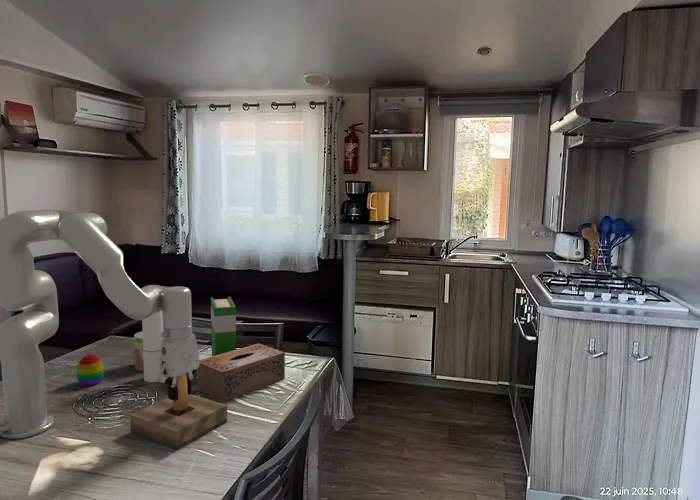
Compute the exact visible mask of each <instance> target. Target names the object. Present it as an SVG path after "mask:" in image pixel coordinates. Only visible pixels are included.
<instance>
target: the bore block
mask: <svg viewBox="0 0 700 500" xmlns="http://www.w3.org/2000/svg"><path fill="white" fill-rule="evenodd" d="M129 421H130V424H129V425H130V433H132V434H134V435H137V436H140V437H141V438H144V439H148V440H149V441H153V442H155V443H158V444H159V445H162V446H165V447H168V448H170V449H173V450H175V451H179V449H182V448H183V447H185V446H187V445H188V444H191V443H193V442H195V441H196V440H198V439H199V438H201V437H203V436H205V435H206V434H209V433H210V432H212V431H214V430H215V429H217V428H218V427H221V426H223V425H224V424H226V423H228V404H224V403H223V402H218V401H215V400H211V399H208V398H205V397H201V396H199V395H195V394H192V393H191V394H190V395H188V407H187V408H186V409H184V410H174V409H173V401H172V400H170V399H169V398H168V397H167V398H165V399H163V400H160V401H158V402H156V403H153V404H150V405H148V406H147V407H143V408H142V409H140V410H138V411H136V412H133V413H131V414H129Z"/></svg>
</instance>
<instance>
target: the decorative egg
mask: <svg viewBox="0 0 700 500" xmlns="http://www.w3.org/2000/svg"><path fill="white" fill-rule="evenodd" d="M104 374H105V369H104V365H103V362H102V361H101V359H100V357H98V356H97V355H95V354H93V353H88V354H86V355H85V356H83V357H82V358H81V359H80V361H79V362H78V365H77V367H76V379H77V380H78V382H79V384H81V385H82V386H85V387H89V386H90V387H91V386H96V385H98V384H99V383H101V381H102V380H103V377H104Z"/></svg>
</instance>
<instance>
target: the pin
mask: <svg viewBox="0 0 700 500" xmlns="http://www.w3.org/2000/svg"><path fill="white" fill-rule="evenodd" d="M176 386H177V387H178V400H177V401H173V400H172V401H173V409H174V410H184V409H186V408H187V407H188V391H187V373H186V374H183V375H181V376H178V377H177V379H176Z"/></svg>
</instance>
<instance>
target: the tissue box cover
mask: <svg viewBox="0 0 700 500" xmlns="http://www.w3.org/2000/svg"><path fill="white" fill-rule="evenodd" d="M199 363H200V365H199V367H198V368H197V369H196V390H197V391H198V392H201V393H203V394H205V395H207V396H209V397H211V398H213V399H215V400H217V401H220V403H224V402H227V401H229V400H232V399H233V400H234V399H235V398H237V397H241V396H243V395H245V394H248V393H252V392H254V391H257V390H258V389H261V388H264V387H268V386H271V385H273V384H275V382H276V383H278V382H281V381H284V380H285V379H286V377H285V376H286V375H285V374H286V373H285V371H286V370H285V369H286V368H285V367H286V353H285V351H282V350H279V349H276V348H274V347H269V346H267V345H264V344H261V343H255V344H252V345H249V346H245V347H240V348H238V349H237V348H236V350H234V351H230V352H227V353H223V354H220V355H216V356H212V355H211V356H209V357H206V358H203V359H199ZM283 379H284V380H283ZM280 380H281V381H280Z"/></svg>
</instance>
